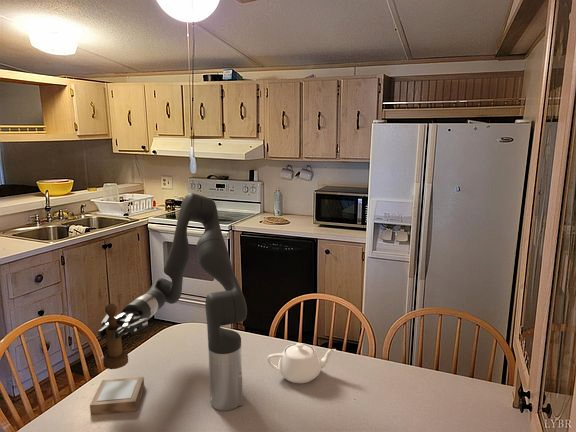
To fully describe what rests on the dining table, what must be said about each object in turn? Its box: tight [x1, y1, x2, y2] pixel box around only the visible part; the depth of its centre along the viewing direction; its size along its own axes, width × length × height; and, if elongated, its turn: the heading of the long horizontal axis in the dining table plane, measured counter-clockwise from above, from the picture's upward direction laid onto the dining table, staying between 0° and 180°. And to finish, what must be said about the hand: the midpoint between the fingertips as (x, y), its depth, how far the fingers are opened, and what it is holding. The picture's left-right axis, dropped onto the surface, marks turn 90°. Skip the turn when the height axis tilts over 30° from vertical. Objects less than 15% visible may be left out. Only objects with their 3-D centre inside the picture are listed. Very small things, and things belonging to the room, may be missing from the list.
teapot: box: [267, 342, 337, 384], centre depth 133 cm, size 22×14×11 cm, turn 94°
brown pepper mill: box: [102, 303, 129, 370], centre depth 117 cm, size 7×6×18 cm
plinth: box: [89, 376, 145, 416], centre depth 121 cm, size 12×12×3 cm
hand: (107, 335), depth 114 cm, fingers closed on brown pepper mill, 4 cm apart
